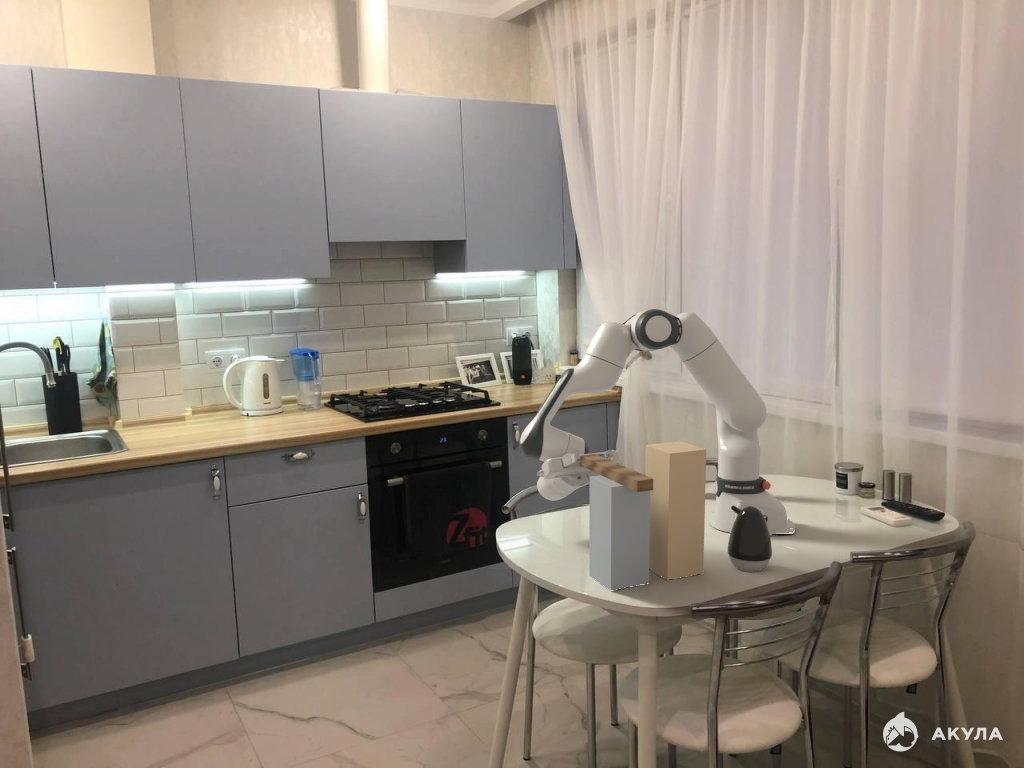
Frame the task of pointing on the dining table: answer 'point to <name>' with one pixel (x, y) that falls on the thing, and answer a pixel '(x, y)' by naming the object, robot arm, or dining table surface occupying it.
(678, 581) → the dining table surface
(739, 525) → the pump dispenser
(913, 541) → the dining table surface
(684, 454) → the carton
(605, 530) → the grey box
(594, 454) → the slat
